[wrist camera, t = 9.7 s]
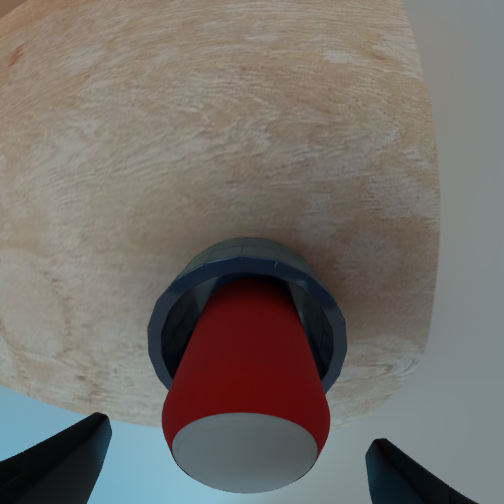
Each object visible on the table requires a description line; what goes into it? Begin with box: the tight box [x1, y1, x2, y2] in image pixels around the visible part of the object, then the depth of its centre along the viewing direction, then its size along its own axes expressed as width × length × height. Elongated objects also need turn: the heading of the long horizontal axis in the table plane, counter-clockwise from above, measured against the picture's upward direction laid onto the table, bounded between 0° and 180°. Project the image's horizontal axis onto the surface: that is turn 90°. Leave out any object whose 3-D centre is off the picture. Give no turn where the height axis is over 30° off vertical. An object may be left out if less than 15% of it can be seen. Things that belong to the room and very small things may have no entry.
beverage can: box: [162, 278, 330, 493], centre depth 13 cm, size 6×6×12 cm
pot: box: [147, 237, 347, 395], centre depth 17 cm, size 11×11×6 cm
